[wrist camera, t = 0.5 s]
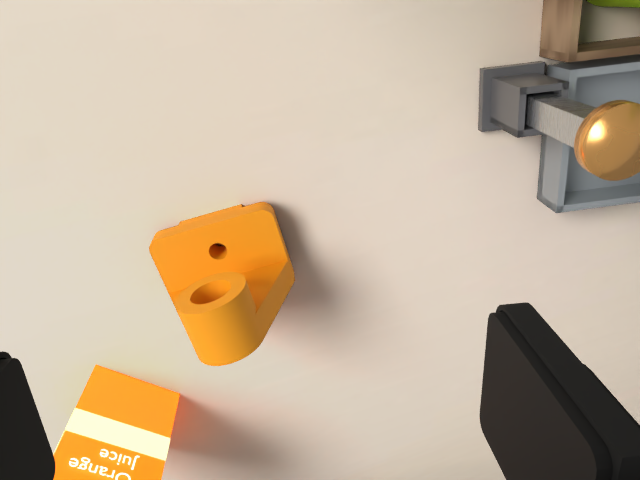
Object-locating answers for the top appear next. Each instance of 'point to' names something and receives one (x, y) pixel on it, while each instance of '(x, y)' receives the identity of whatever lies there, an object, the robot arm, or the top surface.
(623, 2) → the soap dispenser
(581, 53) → the wooden box
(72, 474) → the orange juice
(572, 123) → the plunger
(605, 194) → the tray
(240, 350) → the bracket
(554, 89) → the plunger collar
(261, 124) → the top surface
